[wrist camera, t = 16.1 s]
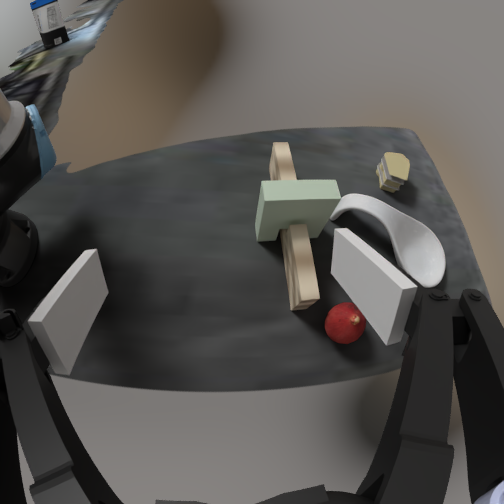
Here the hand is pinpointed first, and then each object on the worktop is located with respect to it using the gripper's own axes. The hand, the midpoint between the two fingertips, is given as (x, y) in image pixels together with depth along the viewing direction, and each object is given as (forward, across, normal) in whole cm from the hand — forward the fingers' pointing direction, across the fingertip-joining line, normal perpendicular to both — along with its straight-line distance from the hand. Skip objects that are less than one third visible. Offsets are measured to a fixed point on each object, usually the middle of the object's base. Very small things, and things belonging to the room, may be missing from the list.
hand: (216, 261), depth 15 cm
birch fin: (+29, +11, -9) cm, 32 cm away
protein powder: (+112, -76, +69) cm, 152 cm away
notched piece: (+29, +11, -9) cm, 32 cm away
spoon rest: (+26, +30, -12) cm, 41 cm away
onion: (+17, +16, -21) cm, 32 cm away
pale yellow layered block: (+36, +35, -2) cm, 50 cm away
